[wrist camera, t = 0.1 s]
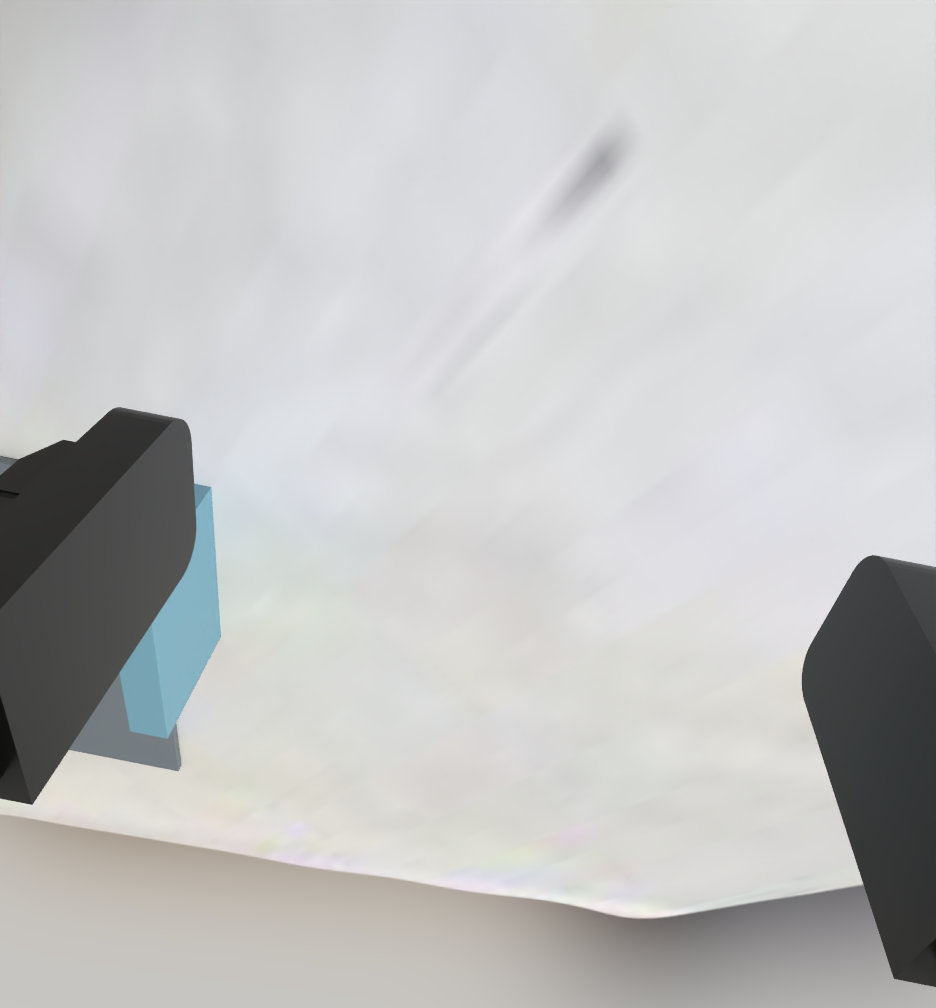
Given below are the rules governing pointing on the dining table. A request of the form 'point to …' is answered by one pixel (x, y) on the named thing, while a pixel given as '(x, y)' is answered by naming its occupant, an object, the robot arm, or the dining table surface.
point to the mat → (120, 726)
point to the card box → (176, 638)
